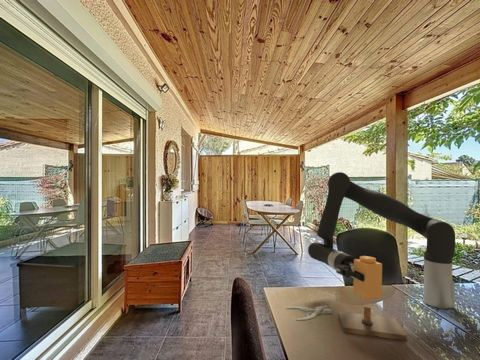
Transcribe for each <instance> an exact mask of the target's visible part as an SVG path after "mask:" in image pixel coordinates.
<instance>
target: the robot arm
mask: <svg viewBox="0 0 480 360" xmlns="http://www.w3.org/2000/svg"><path fill="white" fill-rule="evenodd" d="M327 186H328V187H327V188H328V192H327V198H326V201H325V205H324V209H323V211H322V214H321V217H320V221H319V224H318V229H317V231H316V236H317V237H319V238H321V239H322V240H323V243H321V242H317V241H315V242H312V243H310V244H309V245H308V247H307V253H308V255H309V256H310V257H309V258H311V259H312V260H316V261H317V262H318V261H319V262H321V263H324V264H325V265H327V266H328V267H330V268H332V270H334V271H335V272H336V274H339V275H340V276H343V277H345V278H353V279H354V278H357V279H358V280H360V281H364V274H362V273H360V272H358V271H356V270H355V269H354V259H357V258H356V257H355V256H352V255H350V254H348V253H345V252H344V251H341V250H337V249H335V248H334V236H335V232H336V228H337V224H338V219H339V215H340V211H341V208H342V203H343V201H344V198H346V199H348V200H350V201H353V202H355V203H356V204H358V205H360V206H361V207H363V208H365V209H367V210H368V211H371V212H372V213H374V214H375V215H377V216H380V217H382V218H384V219H386V220H387V221H391V222H393V223H396V224H397V225H398V224H399V225H402V226H405V227H407V228H409V229H411V230H413V231H414V232H416V233H417V234H419V235H421V236H422V237H424V238H425V239H426V249H425V251H424V252H423V302H424V303H425V304H426V305H428V306H431V307H433V308H438V309H441V310H442V309H444V310H450V309H455V307H456V299H455V298H456V283H454V282H453V259H454V257H455V251H456V232H455V229H454V228H453V226H452V225H451V224H450V223H448V222H446V221H444V220H440V219H436V218H433V217H430V216H427V215H425V214H422V213H420V212H418V211H415V210H414V209H412V208H410V207H409V206H408V205H406V204H405V203H403V202H401V201H400V200H398V199H396V198H394V197H393V196H390V195H388V194H385V193H383V192H380V191H376V190H373V189H370V188H366V187H363V186H360V185H359V184H356V183H355V182H353V181H351V179H350V177H349V176H348V174H346V173H345V172H342V171H337V172H335V173H332V174H331V175H330V177H329V178H328V181H327ZM383 278H384V275H383V273H382V279H383Z"/></svg>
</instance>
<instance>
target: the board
mask: <svg viewBox="0 0 480 360" xmlns="http://www.w3.org/2000/svg"><path fill="white" fill-rule="evenodd" d="M371 310H372V308H371V307H370V306H367V305H365V306H363V314H362V313H353V312H345V311H338V317H339V321H340V324H341V328H342V331H343V333H346V334H347V333H348V334H355V335H361V336H370V337H376V336H378V337H377V338H386V339H393V340H400V341H408V334H407V333H406V332H405V330H404V329H403V328H402V326H401V325H400V324H399V323H398V321H397V319H396V318H395V317H387V316H379V315H372V313H371V312H372V311H371Z"/></svg>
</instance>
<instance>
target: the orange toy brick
mask: <svg viewBox="0 0 480 360" xmlns="http://www.w3.org/2000/svg"><path fill="white" fill-rule="evenodd" d="M354 269H355V270H356V271H358V272H360V273H362V274H364V281H360V280H358V279H357V278H353V284H352V286H353V289H352V290H353V291H352V292H353V293H354V294H356V295H357V296H359V297H360V298H362V299H363V300H367V301H368V300H377V299H379V300H380V299H383V298H382V293H383V292H382V291H383V290H382V289H383V288H382V287H383V278H382V274H383V263H381V262H378V261H377V258H376V257H373V256H370V255H369V256H367V255H360V256H359V258H356V259H354Z"/></svg>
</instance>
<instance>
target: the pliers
mask: <svg viewBox="0 0 480 360" xmlns="http://www.w3.org/2000/svg"><path fill="white" fill-rule="evenodd" d="M286 309H287V310H301V311H303V312H307V314H306V316H304V317H299V318H296V319H295V320H296V321H298V322H299V321H308V320H311V319H314V318H316V317H317V316H318V315H320V314H322V315H323V314H325V313H326V314H332V308H329V306H328V305H319V306H316V307H315V308H311V307H306V306H296V305H295V306H293V305H292V306H286ZM311 312H312V313H311ZM326 314H325V315H326Z"/></svg>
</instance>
